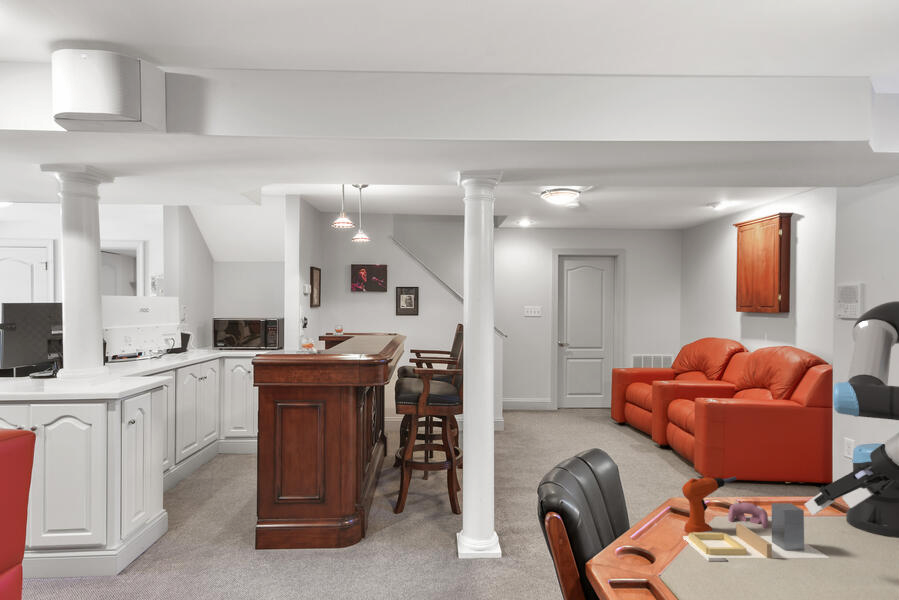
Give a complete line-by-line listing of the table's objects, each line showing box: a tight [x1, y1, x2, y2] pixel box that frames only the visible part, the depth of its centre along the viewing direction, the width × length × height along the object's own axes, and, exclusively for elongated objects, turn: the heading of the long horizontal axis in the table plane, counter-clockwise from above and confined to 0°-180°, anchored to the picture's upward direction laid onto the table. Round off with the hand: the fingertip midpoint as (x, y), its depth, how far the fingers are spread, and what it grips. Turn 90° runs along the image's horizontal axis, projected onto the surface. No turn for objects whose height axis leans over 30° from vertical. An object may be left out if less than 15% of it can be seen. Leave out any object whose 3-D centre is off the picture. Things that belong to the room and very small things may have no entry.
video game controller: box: [728, 502, 769, 529], centre depth 152 cm, size 10×5×7 cm, turn 58°
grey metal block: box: [771, 502, 805, 551], centre depth 135 cm, size 5×5×10 cm
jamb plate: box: [682, 523, 830, 562], centre depth 135 cm, size 30×13×4 cm, turn 92°
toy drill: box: [681, 476, 737, 534], centre depth 148 cm, size 5×19×15 cm, turn 108°
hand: (828, 506), depth 126 cm, fingers open, 13 cm apart
